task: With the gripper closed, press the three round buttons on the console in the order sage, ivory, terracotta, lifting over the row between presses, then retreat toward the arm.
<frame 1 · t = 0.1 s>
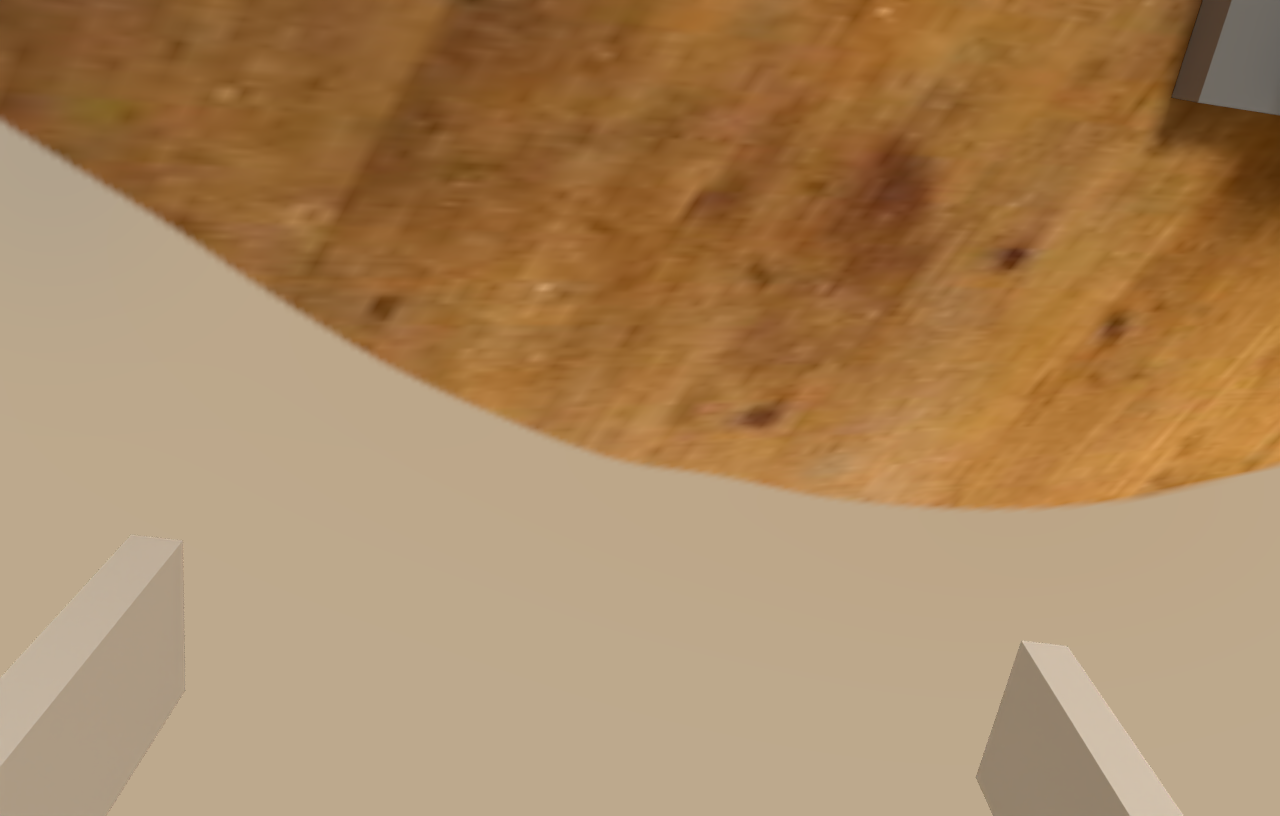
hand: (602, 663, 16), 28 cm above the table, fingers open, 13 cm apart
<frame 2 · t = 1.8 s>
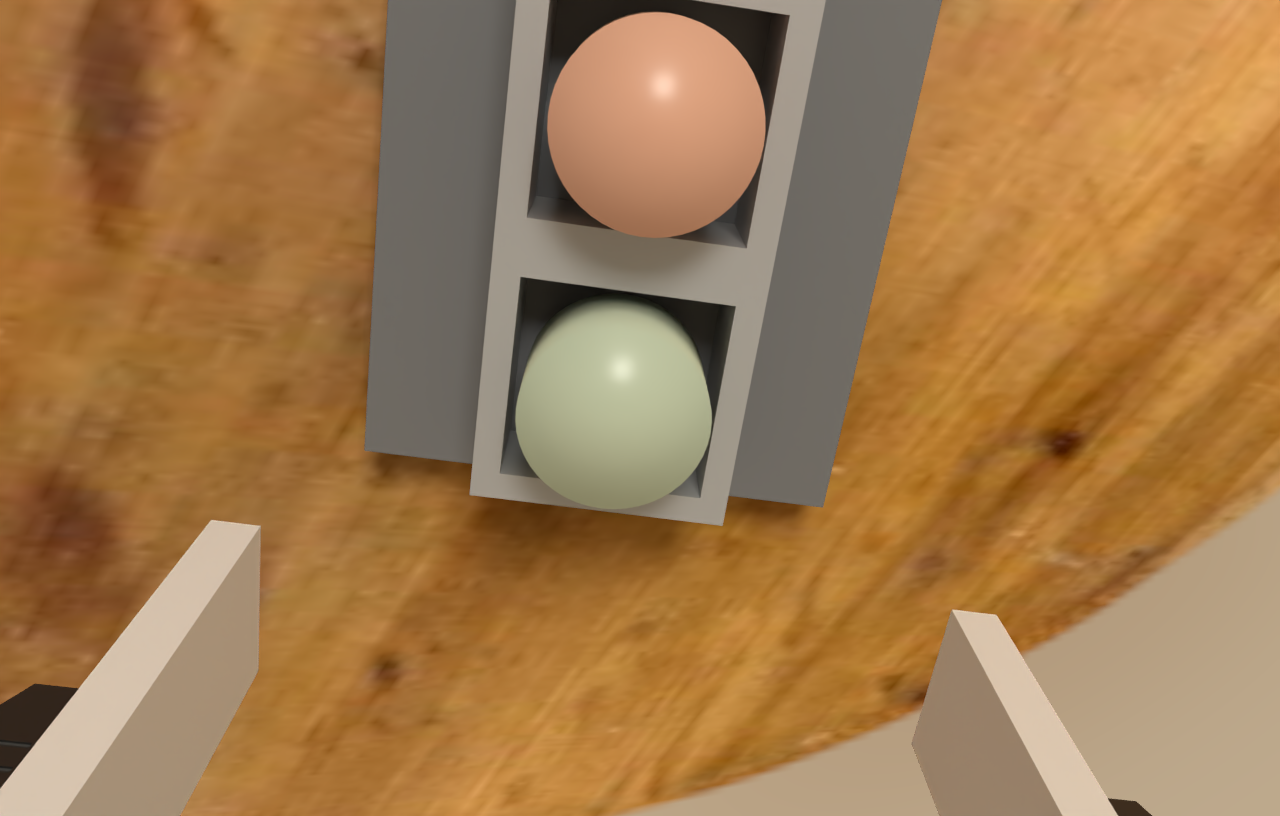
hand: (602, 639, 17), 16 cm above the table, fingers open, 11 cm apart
button sage: (614, 399, 27), point 5 cm above the table, slide at 0.0 cm
console: (648, 100, 29), on the table
button terracotta: (654, 122, 24), point 5 cm above the table, slide at 0.0 cm
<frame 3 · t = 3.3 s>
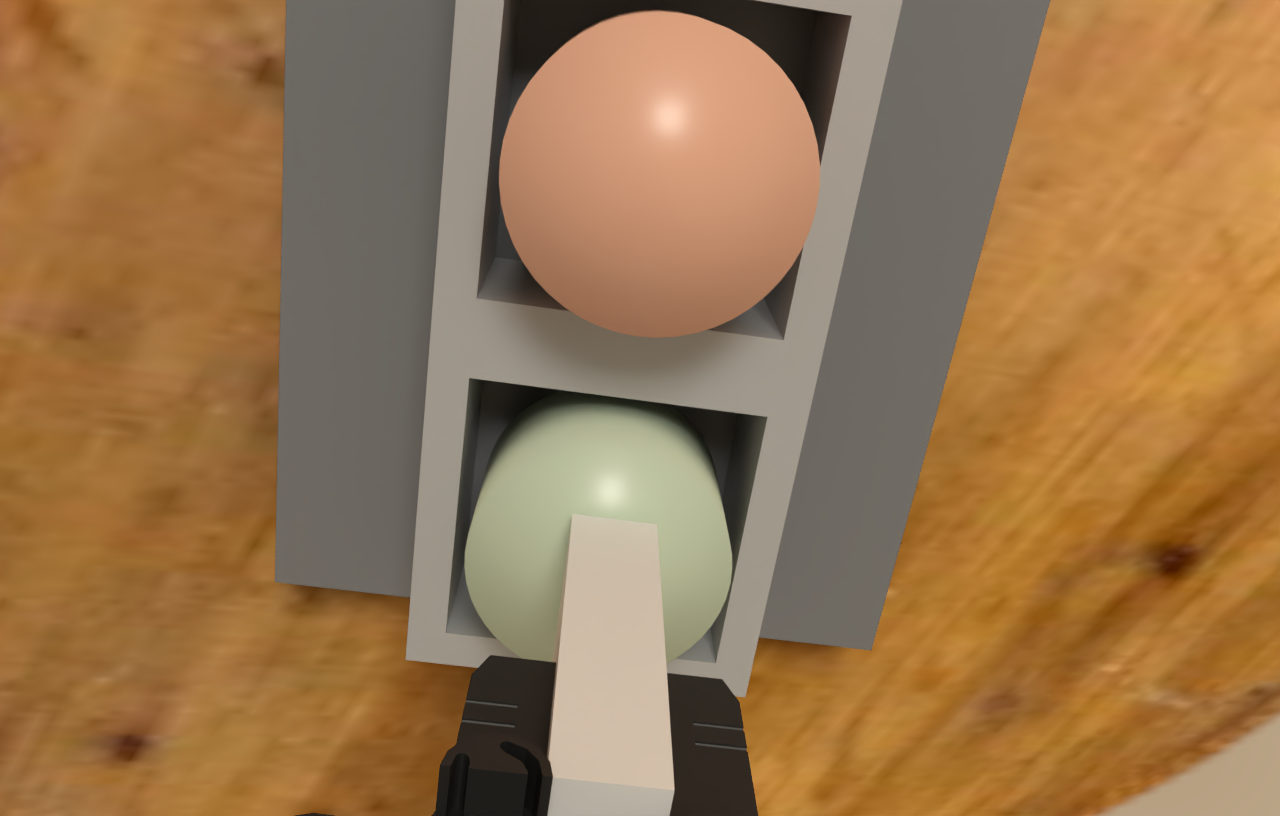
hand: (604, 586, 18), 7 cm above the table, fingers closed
button sage: (600, 528, 20), point 5 cm above the table, slide at 0.6 cm, touching gripper
console: (647, 126, 22), on the table
button terracotta: (656, 168, 17), point 6 cm above the table, slide at 0.0 cm
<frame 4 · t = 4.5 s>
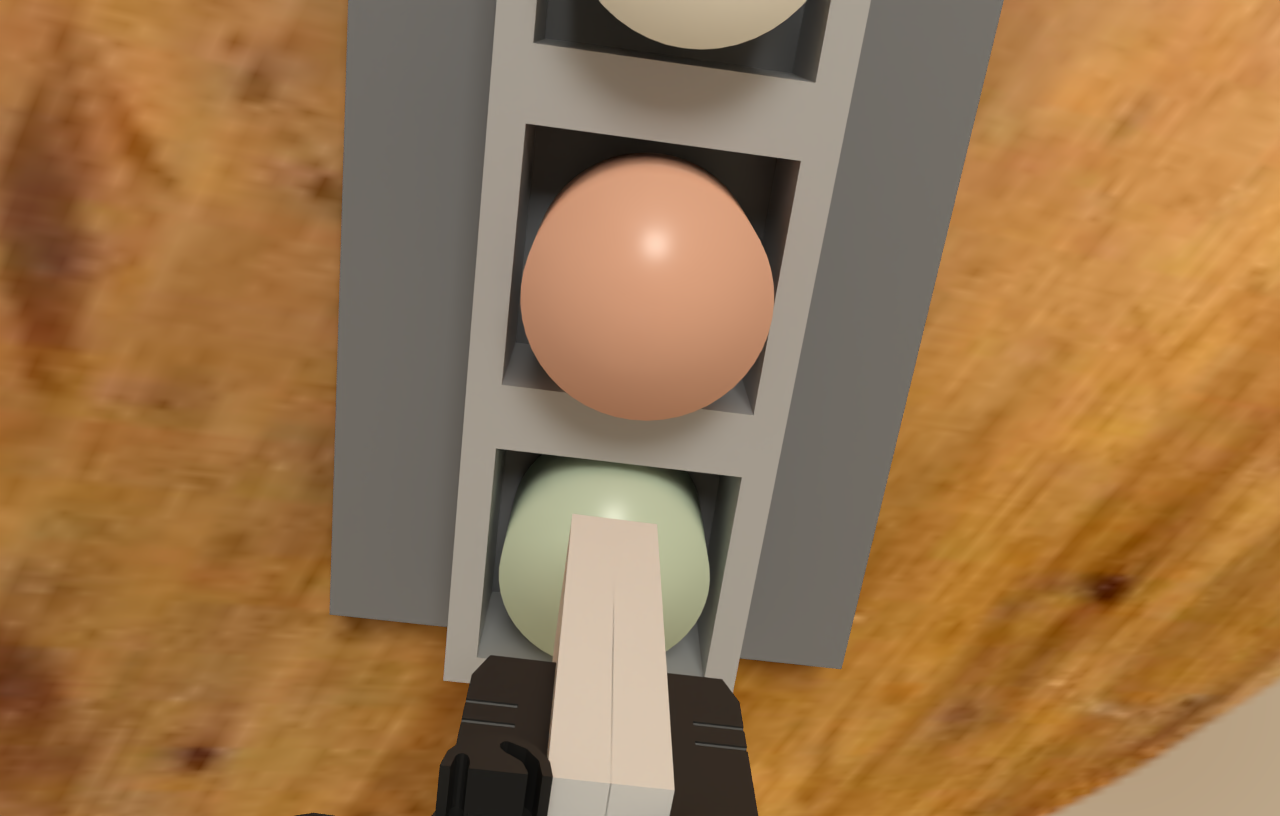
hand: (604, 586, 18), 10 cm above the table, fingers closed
button sage: (605, 547, 25), point 4 cm above the table, slide at 1.6 cm
console: (642, 228, 26), on the table
button terracotta: (646, 283, 21), point 6 cm above the table, slide at 0.0 cm
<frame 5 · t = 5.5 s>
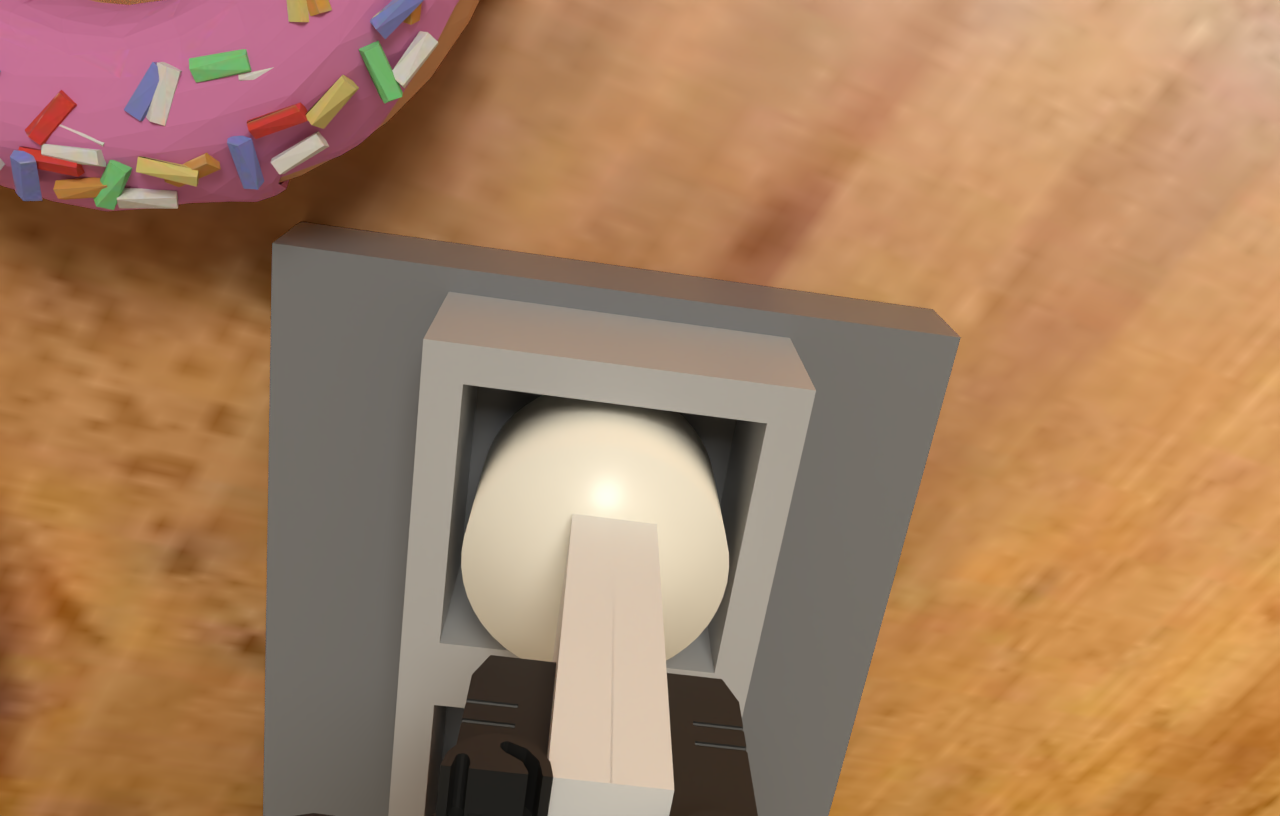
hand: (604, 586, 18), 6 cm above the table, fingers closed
console: (564, 678, 27), on the table
button ivory: (596, 527, 20), point 5 cm above the table, slide at 0.9 cm, touching gripper
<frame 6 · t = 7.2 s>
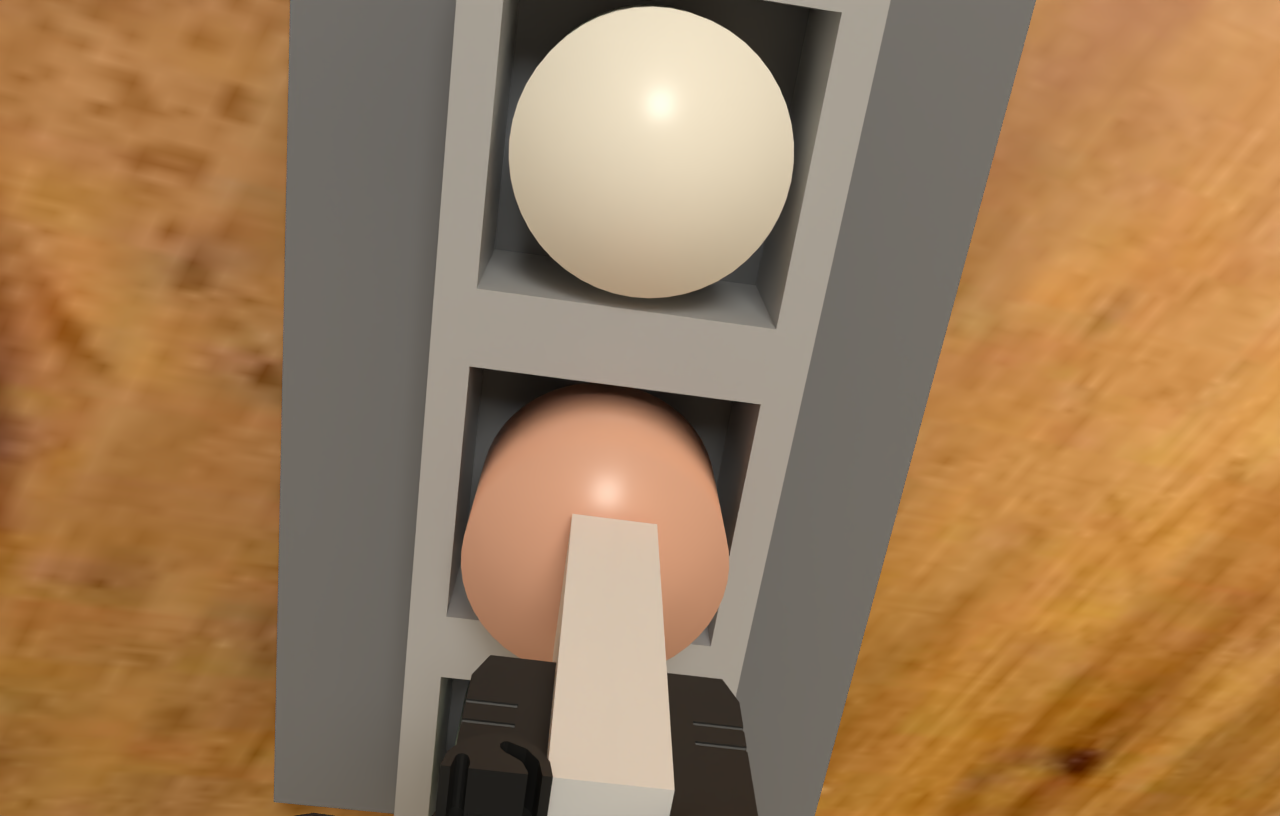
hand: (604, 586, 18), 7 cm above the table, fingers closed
button sage: (558, 758, 24), point 4 cm above the table, slide at 1.6 cm
console: (600, 416, 25), on the table
button ivory: (649, 147, 19), point 4 cm above the table, slide at 1.6 cm
button terracotta: (596, 526, 20), point 5 cm above the table, slide at 0.0 cm, touching gripper
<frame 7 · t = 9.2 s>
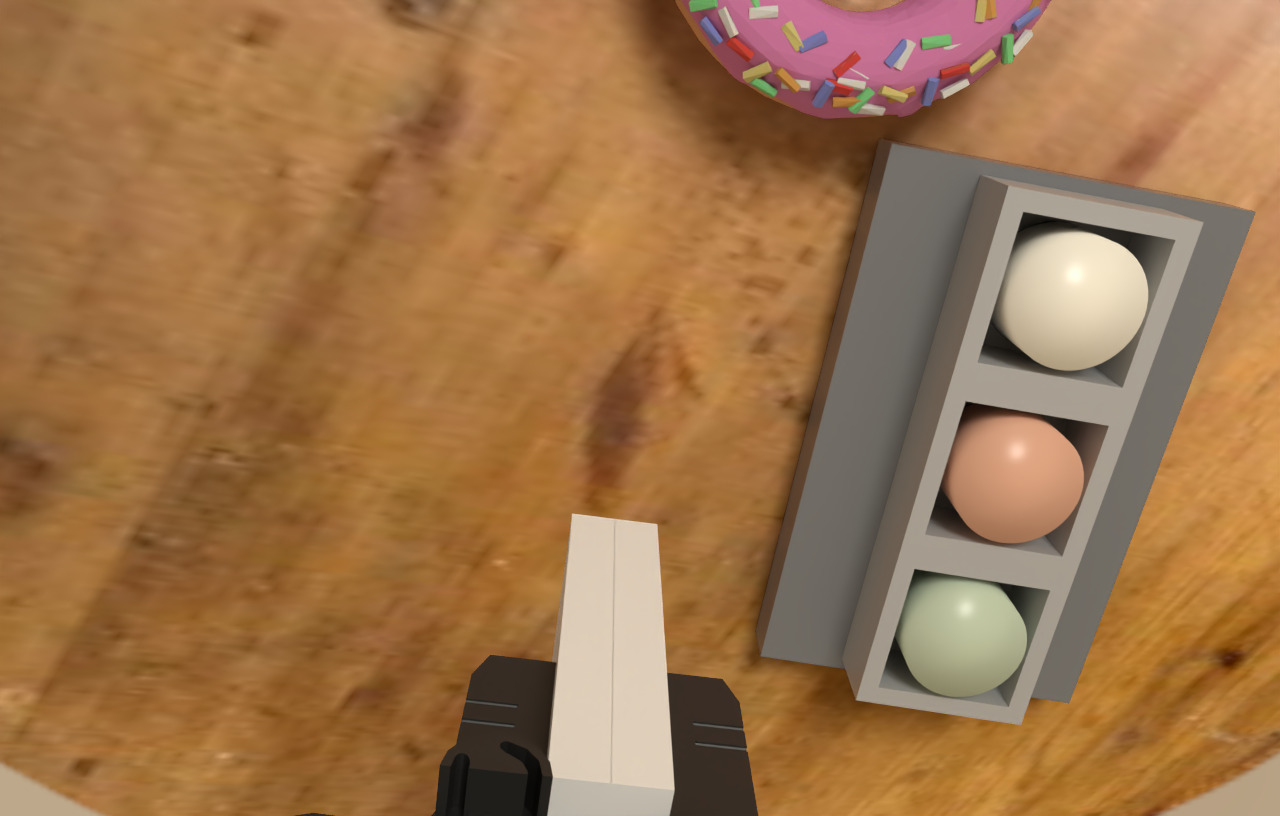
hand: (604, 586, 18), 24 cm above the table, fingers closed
button sage: (954, 625, 42), point 4 cm above the table, slide at 1.6 cm
console: (973, 433, 44), on the table
button ivory: (1062, 295, 38), point 4 cm above the table, slide at 1.6 cm
button terracotta: (1005, 469, 40), point 4 cm above the table, slide at 1.6 cm
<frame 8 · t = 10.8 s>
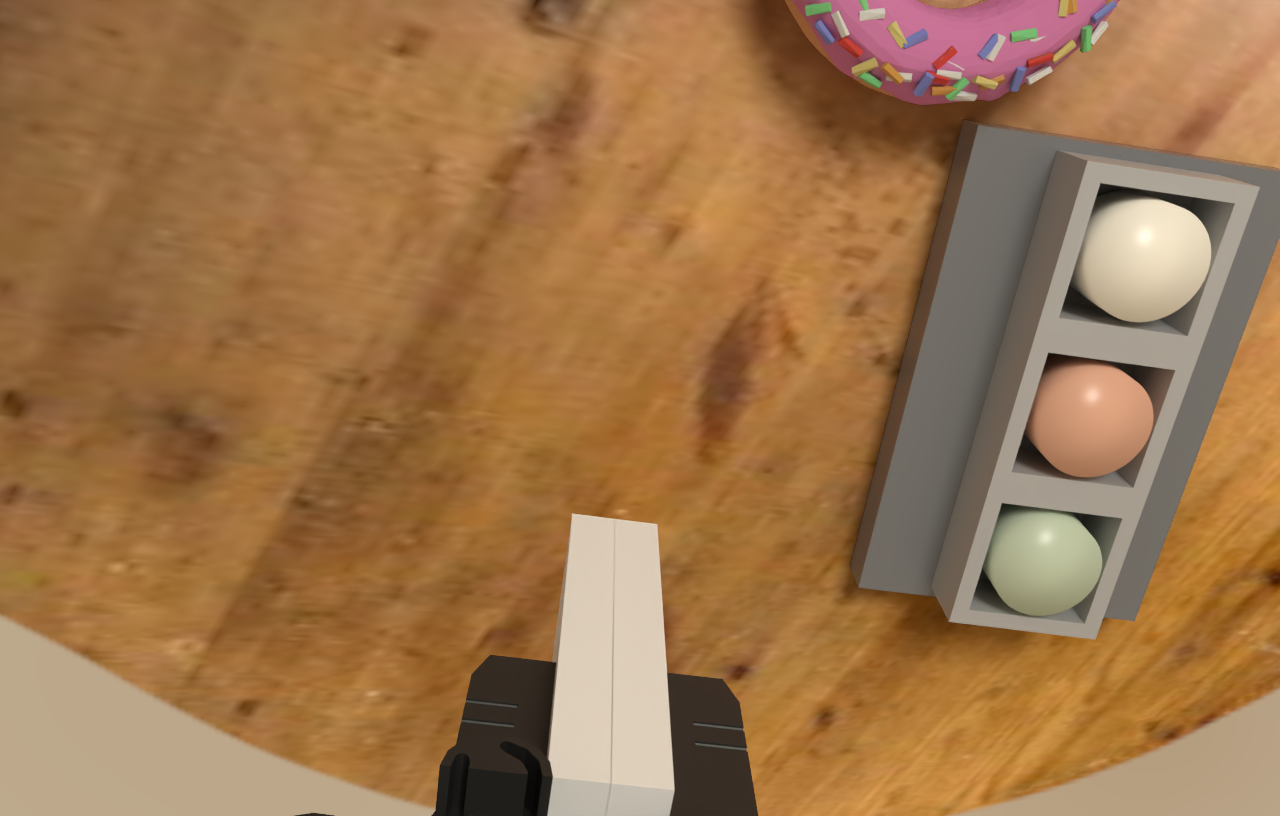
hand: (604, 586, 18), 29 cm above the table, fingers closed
button sage: (1035, 552, 48), point 4 cm above the table, slide at 1.6 cm
console: (1047, 381, 49), on the table
button ivory: (1132, 255, 43), point 4 cm above the table, slide at 1.6 cm
button terracotta: (1081, 412, 45), point 4 cm above the table, slide at 1.6 cm
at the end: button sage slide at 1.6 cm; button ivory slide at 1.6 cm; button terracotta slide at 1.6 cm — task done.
